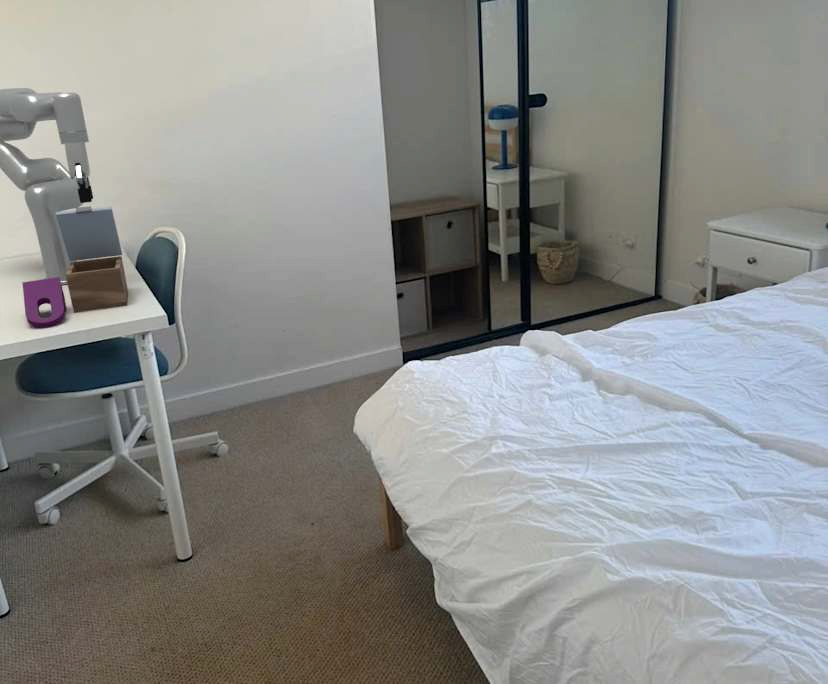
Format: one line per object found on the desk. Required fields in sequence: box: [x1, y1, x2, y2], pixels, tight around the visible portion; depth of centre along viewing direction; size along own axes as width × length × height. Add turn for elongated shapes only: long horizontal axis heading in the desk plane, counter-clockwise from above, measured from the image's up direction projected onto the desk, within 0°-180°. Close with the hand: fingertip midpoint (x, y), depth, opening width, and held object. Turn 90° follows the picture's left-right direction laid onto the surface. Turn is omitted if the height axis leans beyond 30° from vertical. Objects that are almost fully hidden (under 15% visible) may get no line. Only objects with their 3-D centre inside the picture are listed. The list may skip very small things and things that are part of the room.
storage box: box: [66, 255, 129, 314], centre depth 214 cm, size 16×14×11 cm
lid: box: [56, 205, 123, 262], centre depth 213 cm, size 17×15×2 cm
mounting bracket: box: [22, 277, 67, 329], centre depth 203 cm, size 10×8×18 cm
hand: (86, 200), depth 220 cm, fingers open, 5 cm apart
